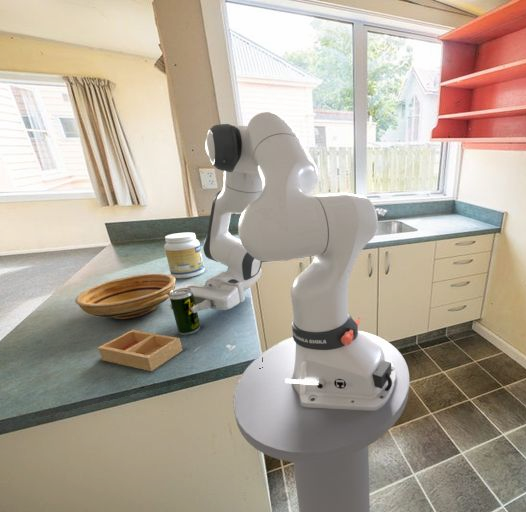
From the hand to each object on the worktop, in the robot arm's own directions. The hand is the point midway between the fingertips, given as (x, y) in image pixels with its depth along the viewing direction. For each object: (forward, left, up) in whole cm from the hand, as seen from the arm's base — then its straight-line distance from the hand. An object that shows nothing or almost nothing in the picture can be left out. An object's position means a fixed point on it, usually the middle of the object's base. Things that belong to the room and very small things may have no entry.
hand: (181, 308), depth 81 cm
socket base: (+2, +11, -7) cm, 13 cm away
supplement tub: (+38, -36, -7) cm, 53 cm away
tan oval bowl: (+27, -6, -7) cm, 29 cm away
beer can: (0, -1, -7) cm, 7 cm away
